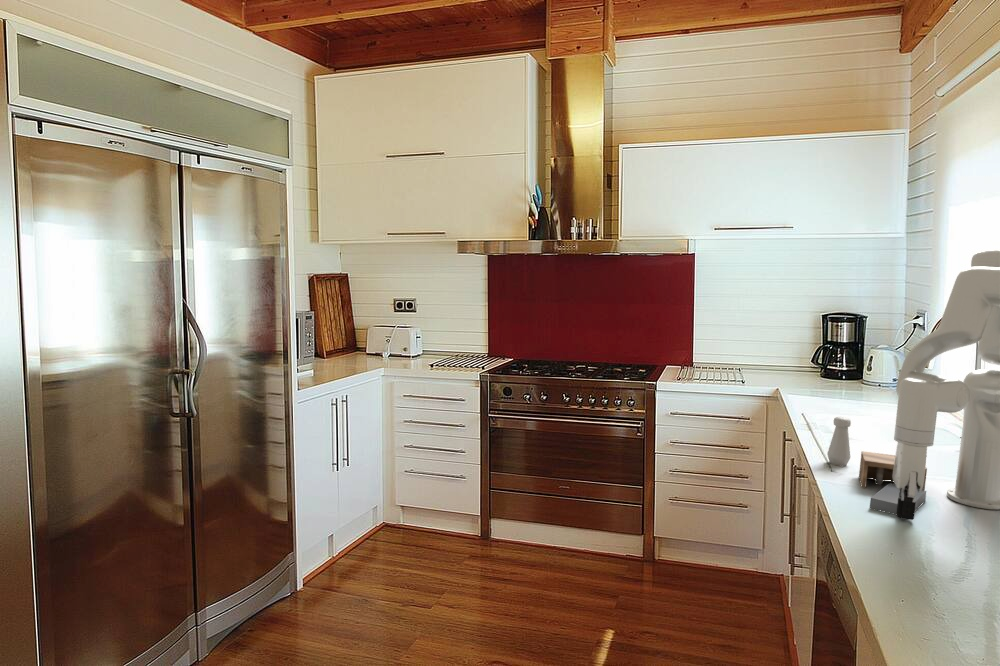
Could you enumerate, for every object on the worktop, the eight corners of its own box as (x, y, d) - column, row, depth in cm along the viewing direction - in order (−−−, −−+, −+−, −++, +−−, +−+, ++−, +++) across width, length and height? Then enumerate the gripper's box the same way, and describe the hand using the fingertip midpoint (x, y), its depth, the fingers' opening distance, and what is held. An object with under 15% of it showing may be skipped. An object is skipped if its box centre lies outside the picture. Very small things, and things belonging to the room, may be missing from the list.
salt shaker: (850, 468, 207) (855, 420, 206) (827, 465, 209) (832, 418, 208) (848, 462, 213) (852, 416, 211) (825, 459, 215) (830, 414, 213)
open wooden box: (858, 476, 200) (861, 451, 199) (917, 484, 195) (920, 458, 194) (861, 487, 190) (864, 460, 190) (923, 496, 186) (927, 468, 185)
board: (888, 495, 187) (889, 483, 186) (925, 503, 182) (926, 491, 181) (869, 510, 175) (870, 497, 174) (907, 519, 170) (909, 506, 169)
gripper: (890, 426, 174) (882, 504, 176) (899, 441, 160) (889, 526, 162) (927, 430, 171) (918, 510, 173) (940, 446, 157) (930, 532, 159)
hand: (904, 517), depth 168 cm, fingers closed
